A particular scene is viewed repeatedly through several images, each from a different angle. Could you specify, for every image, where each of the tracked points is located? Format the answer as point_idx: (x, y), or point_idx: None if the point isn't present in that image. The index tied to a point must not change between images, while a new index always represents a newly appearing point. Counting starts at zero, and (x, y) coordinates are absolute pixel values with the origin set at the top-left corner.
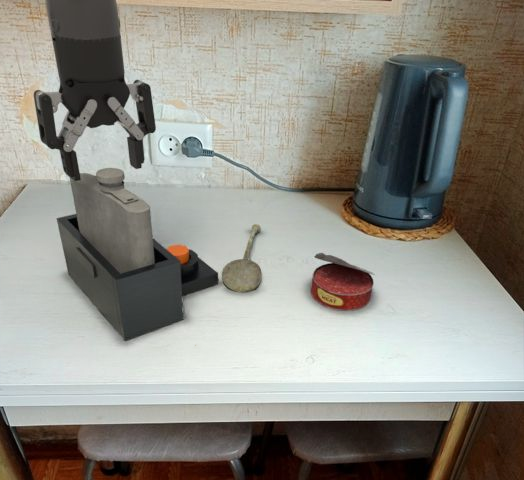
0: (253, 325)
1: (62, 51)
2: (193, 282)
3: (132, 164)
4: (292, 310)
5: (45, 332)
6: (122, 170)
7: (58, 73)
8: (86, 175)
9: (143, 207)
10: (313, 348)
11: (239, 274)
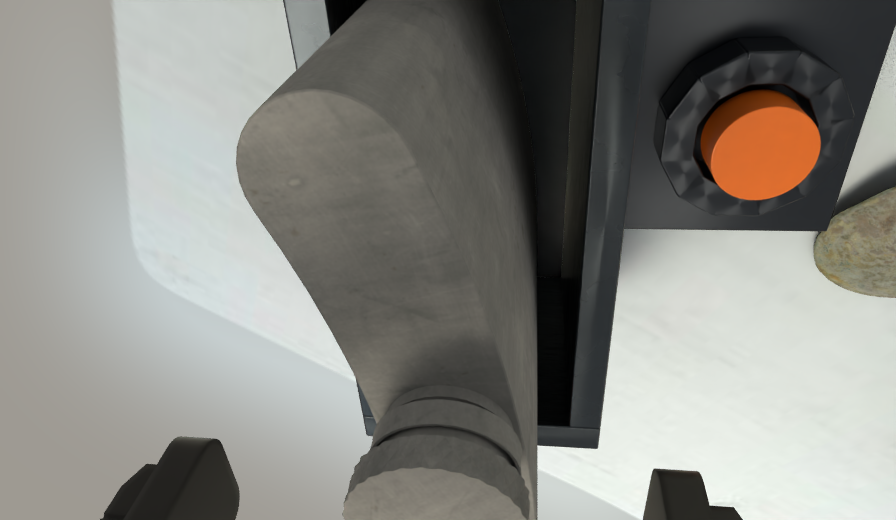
0: (718, 393)
1: None
2: (711, 227)
3: (652, 500)
4: (858, 401)
5: (226, 157)
6: None
7: None
8: (373, 163)
9: None
10: (756, 495)
11: (881, 269)
